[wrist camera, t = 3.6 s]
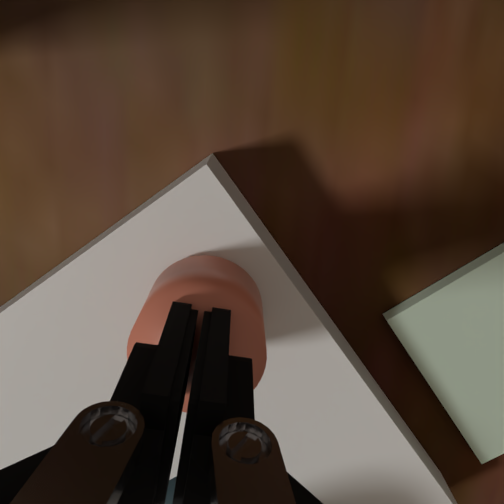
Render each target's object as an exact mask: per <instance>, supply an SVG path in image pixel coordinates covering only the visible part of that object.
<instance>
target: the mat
mask: <svg viewBox="0 0 504 504" xmlns="http://www.w3.org/2000/svg"><path fill="white" fill-rule="evenodd" d="M383 316H384V317H385V319H386V321H387V322H388V324H389V325H390V327H391V328H392V330H393V331H394V333H395V334H396V336H397V337H398V339H399V340H400V342H401V343H402V345H403V346H404V348H405V349H406V351H407V352H408V354H409V355H410V357H411V358H412V360H413V361H414V363H415V364H416V366H417V367H418V369H419V370H420V372H421V373H422V375H423V376H424V378H425V379H426V381H427V382H428V384H429V385H430V387H431V388H432V390H433V391H434V393H435V395H436V396H437V398H438V399H439V401H440V402H441V404H442V405H443V407H444V408H445V410H446V411H447V413H448V414H449V416H450V417H451V419H452V420H453V422H454V423H455V425H456V426H457V428H458V429H459V431H460V432H461V434H462V435H463V437H464V438H465V440H466V441H467V443H468V444H469V446H470V447H471V449H472V450H473V452H474V453H475V455H476V456H477V458H478V459H479V461H480V462H481V464H483V463H485V462H487V461H489V460H491V459H494V458H496V457H498V456H500V455H502V454H504V243H502V244H500V245H499V246H497V247H495V248H494V249H492V250H490V251H489V252H487V253H485V254H483V255H482V256H480V257H478V258H477V259H475V260H473V261H472V262H470V263H468V264H467V265H465V266H463V267H461V268H460V269H458V270H456V271H455V272H453V273H451V274H450V275H448V276H446V277H444V278H443V279H441V280H439V281H438V282H436V283H434V284H433V285H431V286H429V287H427V288H426V289H424V290H422V291H421V292H419V293H417V294H416V295H414V296H412V297H411V298H409V299H407V300H405V301H404V302H402V303H400V304H399V305H397V306H395V307H394V308H392V309H390V310H388V311H387V312H385V313H383Z"/></svg>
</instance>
